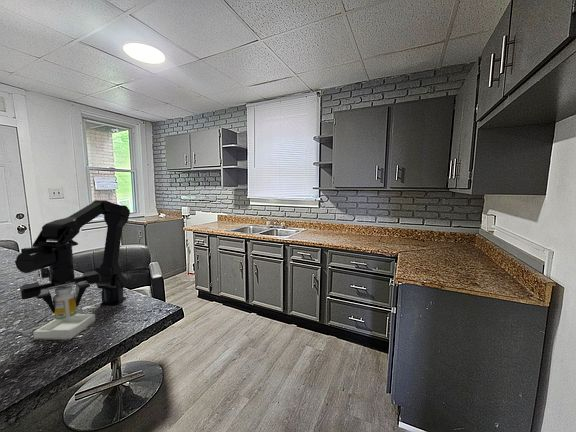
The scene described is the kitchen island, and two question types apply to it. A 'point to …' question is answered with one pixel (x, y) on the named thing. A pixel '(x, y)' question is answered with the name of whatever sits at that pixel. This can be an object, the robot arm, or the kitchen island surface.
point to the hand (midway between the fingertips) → (65, 309)
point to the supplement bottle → (64, 303)
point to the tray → (64, 327)
